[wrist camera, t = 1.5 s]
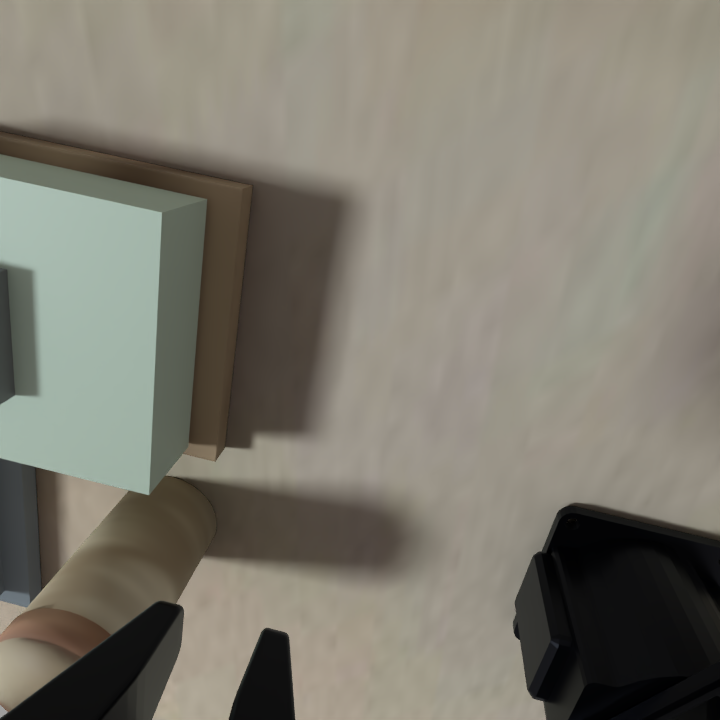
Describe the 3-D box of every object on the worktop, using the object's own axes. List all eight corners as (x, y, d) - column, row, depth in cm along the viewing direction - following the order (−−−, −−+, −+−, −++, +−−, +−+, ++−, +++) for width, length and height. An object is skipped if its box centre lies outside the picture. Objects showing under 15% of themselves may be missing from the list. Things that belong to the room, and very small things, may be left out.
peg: (221, 488, 23) (115, 658, 16) (213, 565, 24) (114, 751, 17) (125, 464, 23) (-24, 621, 16) (123, 542, 25) (-13, 716, 17)
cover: (207, 198, 17) (146, 217, 14) (188, 446, 21) (136, 510, 17) (-98, 133, 18) (-229, 134, 14) (-65, 385, 21) (-165, 435, 18)
